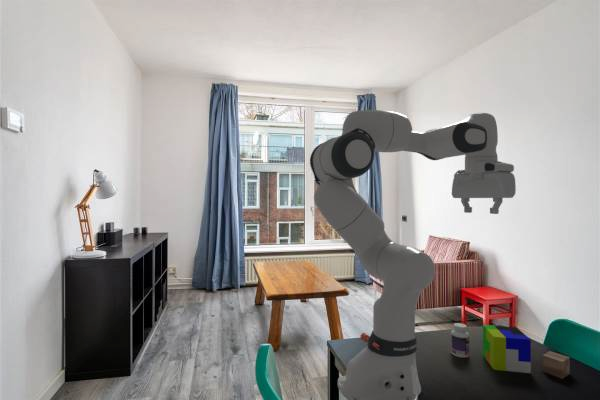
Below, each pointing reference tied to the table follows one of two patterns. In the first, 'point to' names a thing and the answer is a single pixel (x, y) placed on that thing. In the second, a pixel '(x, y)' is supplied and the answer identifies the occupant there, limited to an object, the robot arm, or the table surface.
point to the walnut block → (556, 364)
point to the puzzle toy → (507, 348)
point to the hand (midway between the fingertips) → (480, 213)
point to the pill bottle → (460, 341)
